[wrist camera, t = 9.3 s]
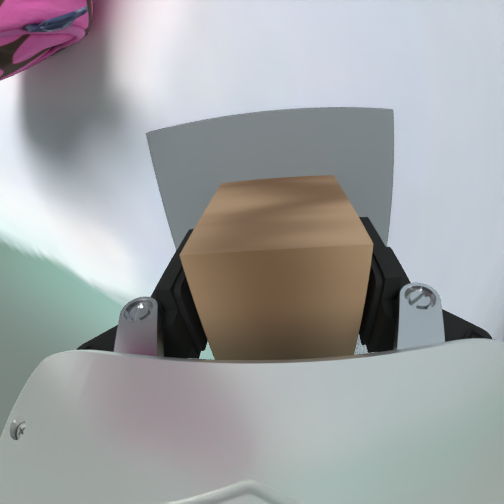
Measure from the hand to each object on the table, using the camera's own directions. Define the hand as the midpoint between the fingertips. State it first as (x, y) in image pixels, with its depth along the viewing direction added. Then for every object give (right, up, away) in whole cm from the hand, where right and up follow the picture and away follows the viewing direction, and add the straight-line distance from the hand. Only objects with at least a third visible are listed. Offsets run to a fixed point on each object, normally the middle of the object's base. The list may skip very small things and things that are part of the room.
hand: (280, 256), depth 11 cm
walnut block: (0, +1, +2) cm, 2 cm away
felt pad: (0, +2, +2) cm, 3 cm away
